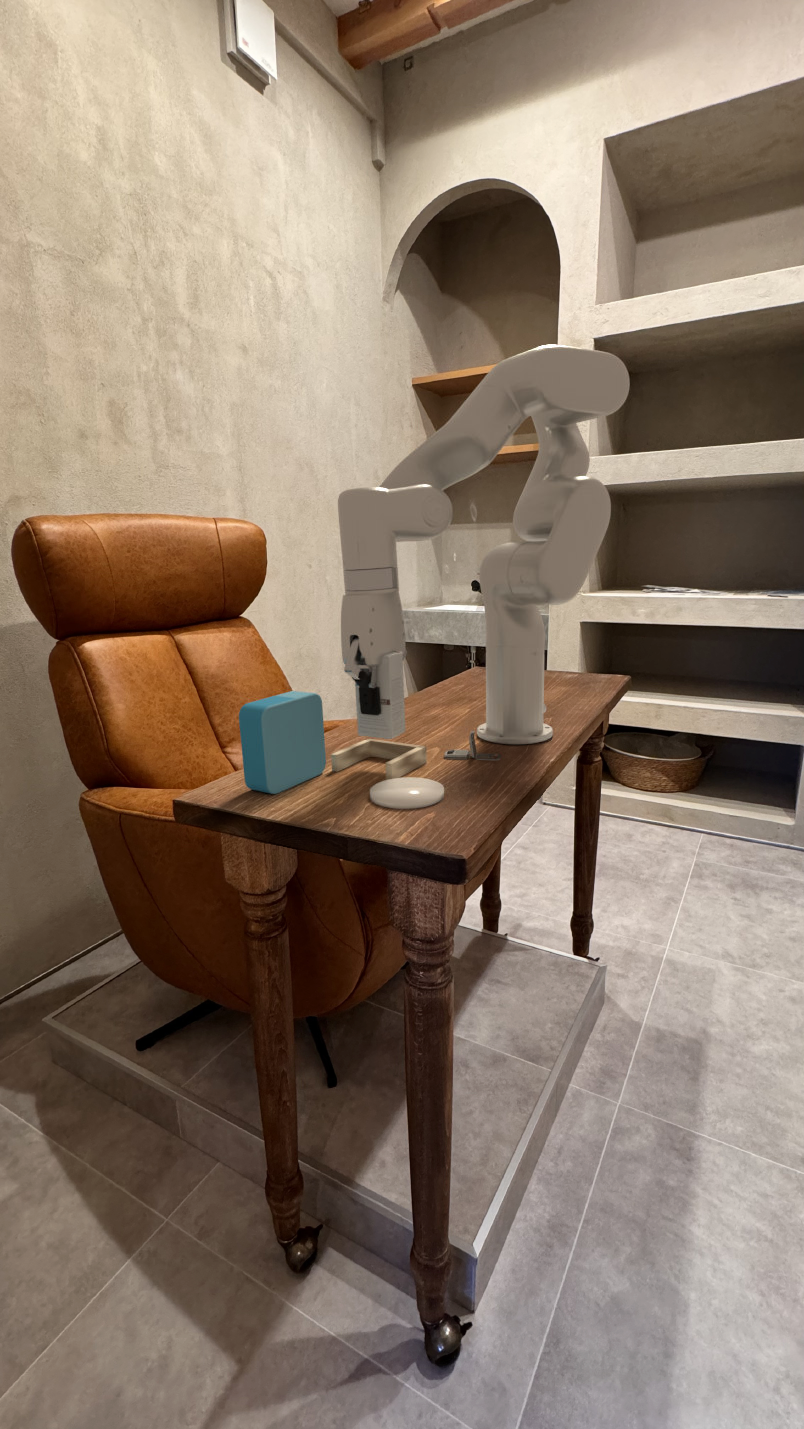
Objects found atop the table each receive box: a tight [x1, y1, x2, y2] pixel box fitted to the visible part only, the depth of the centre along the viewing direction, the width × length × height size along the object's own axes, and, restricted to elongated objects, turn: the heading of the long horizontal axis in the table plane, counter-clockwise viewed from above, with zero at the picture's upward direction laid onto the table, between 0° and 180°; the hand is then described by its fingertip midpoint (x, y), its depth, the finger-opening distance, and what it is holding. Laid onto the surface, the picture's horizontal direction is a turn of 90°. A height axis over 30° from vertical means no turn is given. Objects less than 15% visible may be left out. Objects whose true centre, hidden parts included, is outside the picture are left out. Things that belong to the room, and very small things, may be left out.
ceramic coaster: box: [369, 776, 445, 810], centre depth 87 cm, size 10×10×1 cm
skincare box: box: [354, 651, 406, 740], centre depth 97 cm, size 6×4×12 cm
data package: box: [238, 690, 327, 795], centre depth 92 cm, size 12×4×12 cm, turn 147°
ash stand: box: [330, 738, 427, 780], centre depth 99 cm, size 10×10×2 cm
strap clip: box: [443, 730, 501, 761], centre depth 102 cm, size 8×3×4 cm, turn 78°
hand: (380, 708), depth 97 cm, fingers closed on skincare box, 4 cm apart
